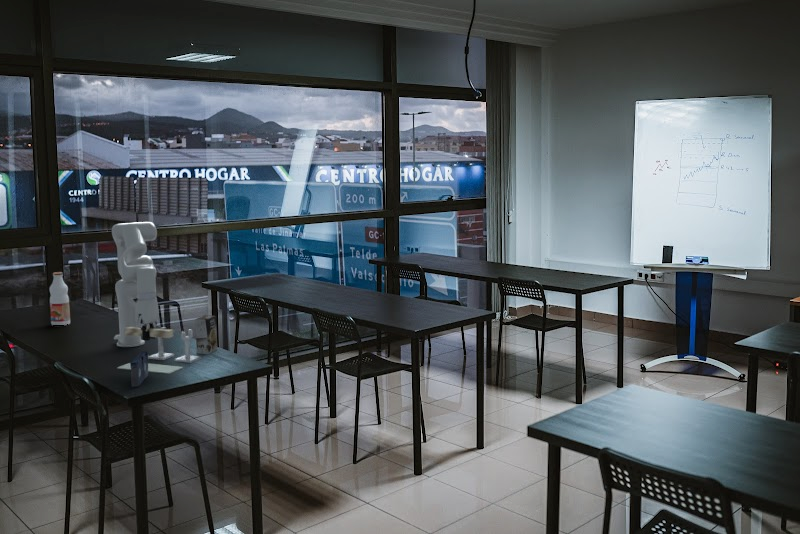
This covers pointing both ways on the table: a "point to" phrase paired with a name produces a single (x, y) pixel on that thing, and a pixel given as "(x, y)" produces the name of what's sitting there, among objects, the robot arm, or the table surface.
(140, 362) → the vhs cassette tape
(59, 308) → the fruit juice
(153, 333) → the birch rail
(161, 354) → the standard left
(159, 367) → the sage mat
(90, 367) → the table surface
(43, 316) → the table surface
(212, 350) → the coffee box
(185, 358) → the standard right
